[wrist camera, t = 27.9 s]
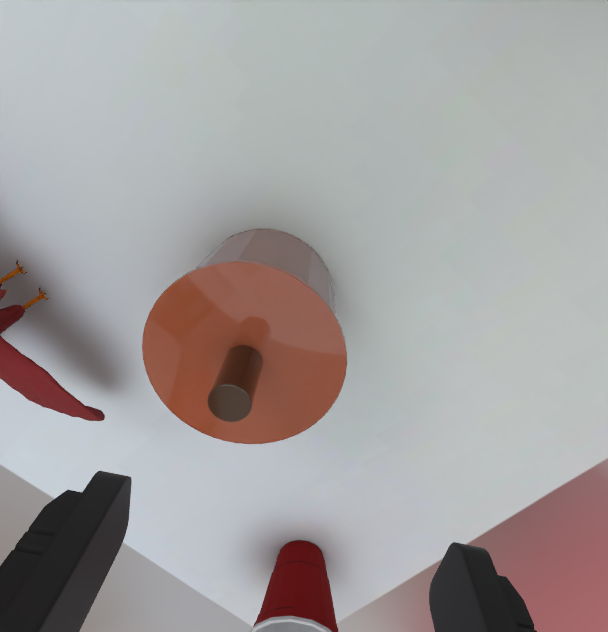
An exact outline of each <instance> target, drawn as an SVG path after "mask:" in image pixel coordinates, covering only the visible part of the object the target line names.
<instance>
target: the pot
mask: <svg viewBox="0 0 608 632" xmlns="http://www.w3.org/2000/svg"><path fill="white" fill-rule="evenodd" d="M228 260H248V261H257V262H262V263H266V264H270V265H273V266H276V267H279V268H282V269H284V270H286V271H288V272H290V273H292V274H294V275H296V276H298V277H299V278H301V279H302V280H304V281H305V282H307V283H308V284H309V285H310V286H312V287H313V288H314V289H315V290H316V291H317V292H318V293H319V294H320V295H321V296H322V297H323V298H324V299H325V300H326V302H327V303H328V304H329V306H330V307H331V309H332V310H333V312H334V313H335V300H334V291H333V287H332V283H331V279H330V275H329V271H328V269H327V267H326V266H325V264H324V263H323V261H322V260H321V258H320V257H319V255H318V254H317V253H316V252H315V251H314V250H313V249H312V248H311V247H310V246H309V245H308V244H306V243H305V242H303V241H302V240H300V239H299V238H297V237H295V236H293V235H290V234H288V233H285V232H281V231H277V230H270V229H256V230H250V231H245V232H242V233H239V234H237V235H233V236H231V237H230V238H229V239H227V240H226V241H225V242H223V243H222V244H221V245H220V246H218V247H217V248H216V249H215V250H213V251H212V252H211V253H210V254H209V255H208V256H207V257H206V258H205V259H204V260H203V261H202V262H201V263H200V264H199V266H198V267H197V268H199V267H202V266H205V265H208V264H211V263H215V262H221V261H228ZM335 315H336V314H335Z"/></svg>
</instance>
